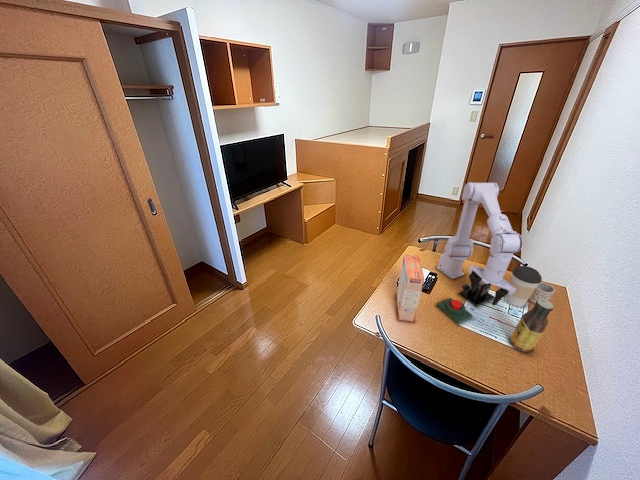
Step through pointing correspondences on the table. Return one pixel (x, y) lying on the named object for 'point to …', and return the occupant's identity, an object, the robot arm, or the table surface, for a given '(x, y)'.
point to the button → (456, 304)
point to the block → (454, 311)
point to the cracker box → (409, 287)
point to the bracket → (478, 295)
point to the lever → (468, 287)
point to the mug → (542, 292)
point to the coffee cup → (523, 284)
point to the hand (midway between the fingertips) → (483, 297)
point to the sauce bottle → (531, 326)
